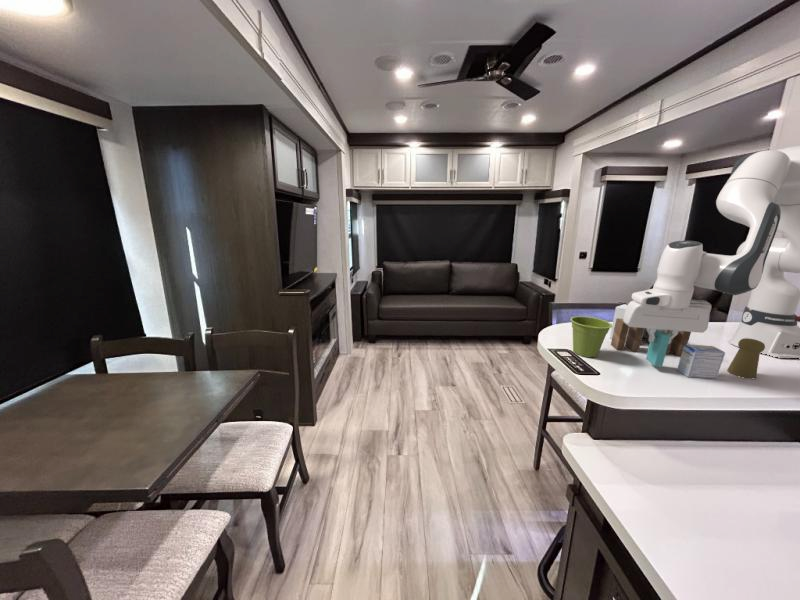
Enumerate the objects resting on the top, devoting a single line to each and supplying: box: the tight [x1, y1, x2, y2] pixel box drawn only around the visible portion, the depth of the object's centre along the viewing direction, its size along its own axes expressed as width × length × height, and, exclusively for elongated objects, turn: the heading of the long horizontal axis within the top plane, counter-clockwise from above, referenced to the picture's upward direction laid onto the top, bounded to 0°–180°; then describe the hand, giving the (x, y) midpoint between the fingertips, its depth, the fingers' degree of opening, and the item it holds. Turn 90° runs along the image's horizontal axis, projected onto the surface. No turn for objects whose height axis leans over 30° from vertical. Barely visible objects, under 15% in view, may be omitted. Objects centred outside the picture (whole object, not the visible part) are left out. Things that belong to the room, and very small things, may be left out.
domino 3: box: [645, 329, 670, 368], centre depth 95 cm, size 2×5×10 cm, turn 167°
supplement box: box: [609, 303, 629, 343], centre depth 117 cm, size 7×7×13 cm
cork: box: [726, 338, 765, 379], centre depth 93 cm, size 6×6×11 cm
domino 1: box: [610, 318, 629, 352], centre depth 110 cm, size 2×5×10 cm, turn 167°
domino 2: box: [624, 327, 644, 353], centre depth 109 cm, size 2×5×10 cm, turn 167°
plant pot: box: [570, 315, 613, 358], centre depth 104 cm, size 12×12×11 cm
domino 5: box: [669, 331, 692, 358], centre depth 106 cm, size 2×5×10 cm, turn 168°
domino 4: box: [660, 329, 673, 356], centre depth 107 cm, size 2×5×10 cm, turn 167°
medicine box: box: [676, 344, 726, 379], centre depth 92 cm, size 8×4×9 cm, turn 84°
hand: (658, 342), depth 95 cm, fingers closed on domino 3, 2 cm apart
